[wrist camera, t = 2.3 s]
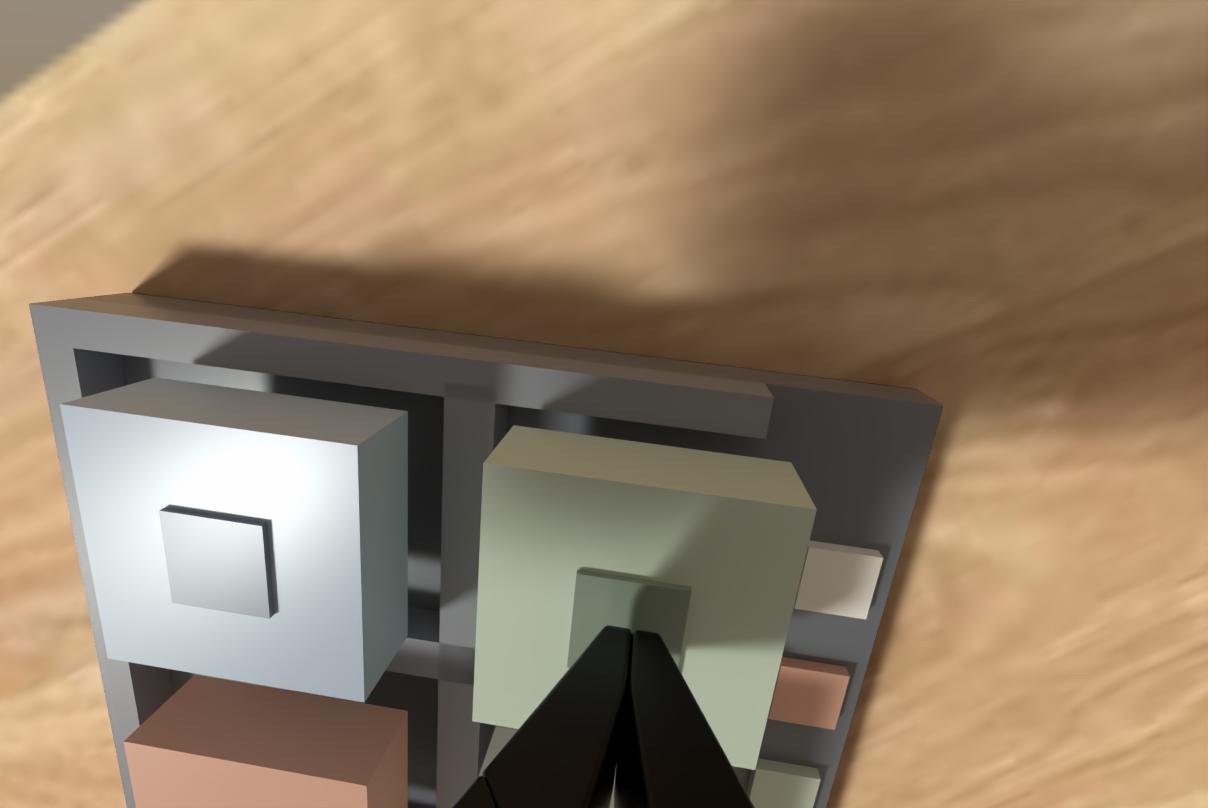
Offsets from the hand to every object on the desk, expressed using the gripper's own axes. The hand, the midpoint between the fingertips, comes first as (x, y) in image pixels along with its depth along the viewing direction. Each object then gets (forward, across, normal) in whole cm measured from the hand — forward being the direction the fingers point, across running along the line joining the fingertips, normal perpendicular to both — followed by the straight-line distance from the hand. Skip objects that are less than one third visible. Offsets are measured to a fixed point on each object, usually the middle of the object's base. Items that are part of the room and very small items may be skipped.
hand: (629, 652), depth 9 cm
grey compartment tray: (+5, +4, +3) cm, 7 cm away
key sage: (+2, 0, 0) cm, 2 cm away
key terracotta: (+2, +7, +7) cm, 10 cm away
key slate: (+2, +7, 0) cm, 7 cm away
